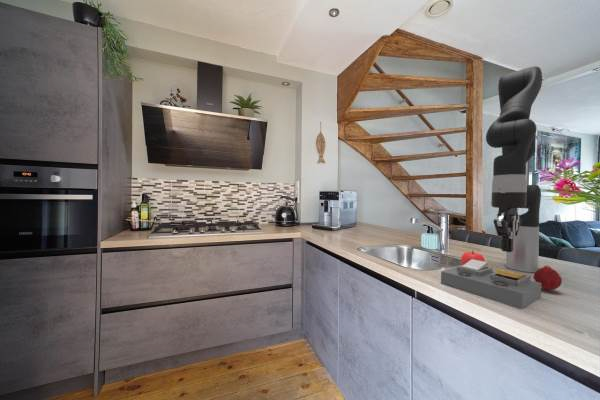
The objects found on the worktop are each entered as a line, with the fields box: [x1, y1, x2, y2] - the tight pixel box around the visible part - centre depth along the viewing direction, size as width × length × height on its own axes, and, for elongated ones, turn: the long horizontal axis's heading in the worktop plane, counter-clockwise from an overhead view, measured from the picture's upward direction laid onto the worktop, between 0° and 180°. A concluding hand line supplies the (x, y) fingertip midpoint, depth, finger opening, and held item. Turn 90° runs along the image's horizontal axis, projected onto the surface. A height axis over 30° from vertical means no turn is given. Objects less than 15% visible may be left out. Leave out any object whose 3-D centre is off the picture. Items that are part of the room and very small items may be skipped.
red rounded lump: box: [533, 263, 563, 292], centre depth 71 cm, size 6×6×8 cm
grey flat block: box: [440, 265, 542, 310], centre depth 71 cm, size 14×20×5 cm
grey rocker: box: [462, 259, 489, 271], centre depth 76 cm, size 7×4×1 cm, turn 121°
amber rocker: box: [495, 268, 525, 278], centre depth 68 cm, size 7×4×1 cm, turn 121°
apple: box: [460, 250, 486, 266], centre depth 89 cm, size 8×8×8 cm
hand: (507, 251), depth 67 cm, fingers closed
